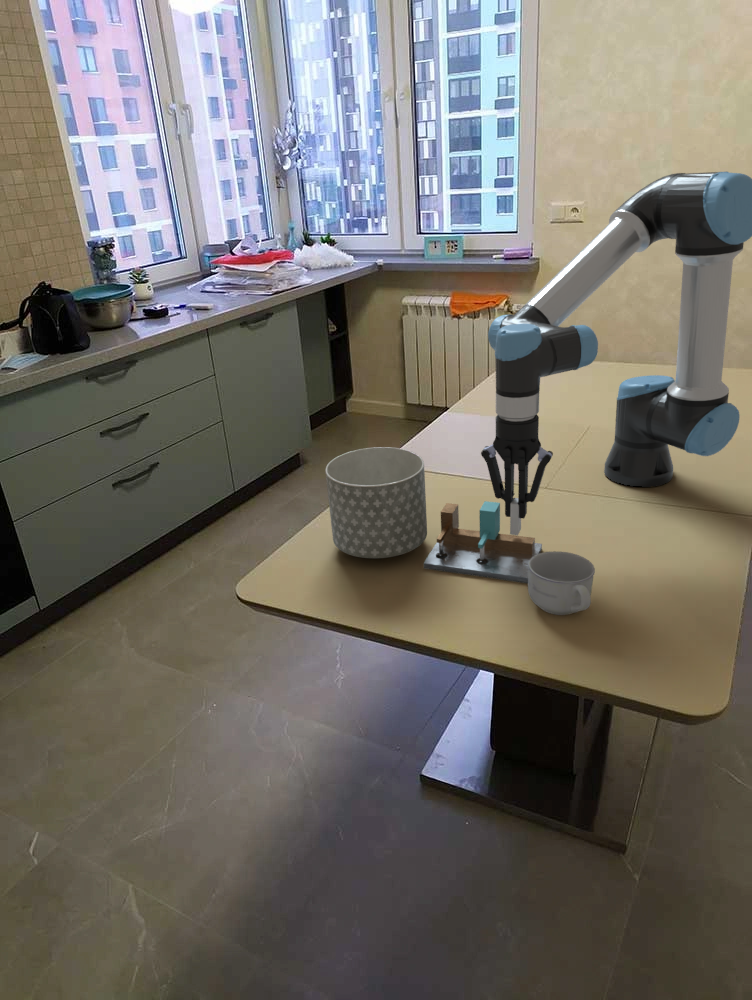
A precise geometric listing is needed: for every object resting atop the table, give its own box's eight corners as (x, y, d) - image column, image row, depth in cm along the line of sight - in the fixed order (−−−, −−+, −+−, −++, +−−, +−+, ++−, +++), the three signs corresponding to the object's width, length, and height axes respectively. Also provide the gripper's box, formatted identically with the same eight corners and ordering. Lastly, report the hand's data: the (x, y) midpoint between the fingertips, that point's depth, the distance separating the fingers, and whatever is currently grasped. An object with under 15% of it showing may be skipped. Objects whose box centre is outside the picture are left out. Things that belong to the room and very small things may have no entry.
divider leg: (499, 539, 142) (500, 502, 138) (488, 563, 134) (488, 524, 131) (484, 537, 143) (484, 501, 140) (472, 561, 135) (472, 523, 132)
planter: (338, 527, 155) (329, 449, 147) (426, 523, 154) (422, 444, 146) (330, 574, 138) (320, 488, 130) (429, 569, 137) (425, 483, 129)
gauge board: (541, 549, 141) (543, 509, 137) (528, 583, 130) (529, 542, 127) (443, 536, 148) (442, 499, 145) (423, 568, 138) (421, 528, 134)
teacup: (520, 591, 128) (520, 552, 125) (579, 584, 129) (582, 545, 125) (542, 637, 116) (544, 595, 112) (608, 630, 116) (612, 588, 113)
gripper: (558, 409, 128) (553, 526, 138) (486, 405, 133) (487, 518, 143) (550, 424, 122) (546, 545, 132) (475, 419, 127) (477, 536, 137)
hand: (515, 531), depth 138 cm, fingers closed
